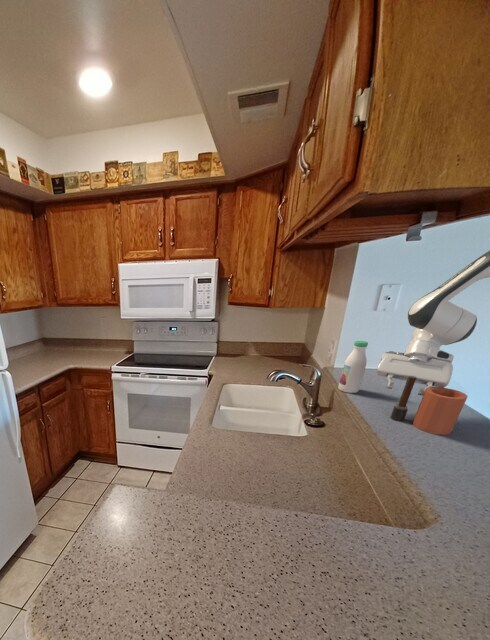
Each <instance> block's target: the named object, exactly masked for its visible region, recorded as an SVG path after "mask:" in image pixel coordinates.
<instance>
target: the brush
mask: <svg viewBox="0 0 490 640" xmlns="http://www.w3.org/2000/svg"><path fill="white" fill-rule="evenodd" d="M416 378H417V377H415V376H408V379H407V381H405V384H404V388H403V389H402V393H401V396H400V398H399V401H398V403H397V404H395V405H394V406H393V409H392V411H391V414H390V419H391V420H393V421H396V422H404V421H405V419H406V416H407V413H408V411H409V409H408V406H407V405H408V401H409V399H410V396H411V394H412V392H413V388H414V386H415V381H416Z"/></svg>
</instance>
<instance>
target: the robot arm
mask: <svg viewBox="0 0 490 640" xmlns="http://www.w3.org/2000/svg"><path fill="white" fill-rule="evenodd" d="M487 278H490V250H488V251H486V252H485V253H484V254H482V255H480V256H479V257H477V258H476V259H475V260H473V261H472V262H470V263H469V264H467V265H466V266H465V267H463V268H462V269H461V270H459V271H458V272H457V273H455V274H454V275H452V276H451V277H450V278H449V279H447V280H446V281H445V282H443V283H442V284H441V285H438V287H436V288H435V289H433V290H432V291H430V292H428V293H426V294H425V295H423V296H422V297H420V298H419V299H417V300H416V301H415V302H414V303H413V304H412V305H411V306H410V307H409V309H408V311H407V321H408V324H409V326H410V327H414V330H413V333H412V335H411V340H410V342H409V343H408V345H407V346H406V349H405V351H404V352H400V351H393V350H390V351H386V352H384V353H383V354H382V355H381V358H380V362H379V364H378V366H377V368H376V374H377V376H380V377H385V378H386V382H387V385H386V389H387V390H388V389H389V390H392V389H393V388H394V382H392V380H393V379H395V380H400V381H405V382H407V379H408V376H415V377H417V378H416V381H415V383H416V384H419V385H420V384H421V385H425V387H424V388H422V387H421V388H419V390H418V393H417V395H418V396H421V397H423V395H424V393H425V390H426V389H427V388H429V387H442V388H447V386H448V385H449V383H450V382H451V378H452V375H453V369H454V366H453V361H454V358H455V357H454V355H453V354H452V353H450V352H447V351H445V350H442V349H440V348H441V347H442V346H449V345H453V344H456V343H459V342H462V341H465V340H466V339H468V338H469V337H470V336H471V335H472V334H473V332H474V331H475V329H476V326H477V324H478V323H477V322H478V317H477V314H474V313H473V312H471V311H469V310H468V309H466V308H463V307H461V306H459V305H457V304H454V303H453V302H451V301H450V300H451V299H453V298H454V297H456V296H457V295H459V294H460V293H462V292H463V291H465V290H467V288H469V287H470V286H472V285H473V284H475V283H477V282H479V281H481V280H483V279H487ZM415 383H414V384H415Z"/></svg>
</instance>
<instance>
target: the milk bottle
mask: <svg viewBox="0 0 490 640" xmlns="http://www.w3.org/2000/svg"><path fill="white" fill-rule="evenodd" d="M368 346H369V342H368V341H365V340H355V341H354V343H353V349H352V351H351V352H350V354H349V355H348V356H347V357H346V359H345V361H344V365H343V368H342V372H341V375H340V380H339V382H338V387H337V388H338V390H339V391H341V392H344V393H350V394H356V393H358V392H359V391H360V388H361V385H362V382H363V379H364V378H363V377H364V374H365V371H366V366H367V356H366V349H368Z"/></svg>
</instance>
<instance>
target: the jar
mask: <svg viewBox="0 0 490 640" xmlns="http://www.w3.org/2000/svg"><path fill="white" fill-rule="evenodd" d="M467 399H468V394H466V393H465V392H462V391H460V390H457V389H453V388H448V387H444V388H442V387H435V386H431V387H429V388H427V389H426V390H425V393H424V395H423V396H422V398H421V400H420V403H419V405H418V408H417V410H416V413H415V416H414V418H413V420H412V425H413V427H415V428H416V429H418V430H420V431H422V432H426V433H429V434H433V435H440V436H441V435H443V436H444V435H449V434H451V433H452V432H453V430H454V427H455V425H456V423H457V421H458V418H459V416H460V415H461V412H462V410H463V408H464V406H465V404H466V402H467Z"/></svg>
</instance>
